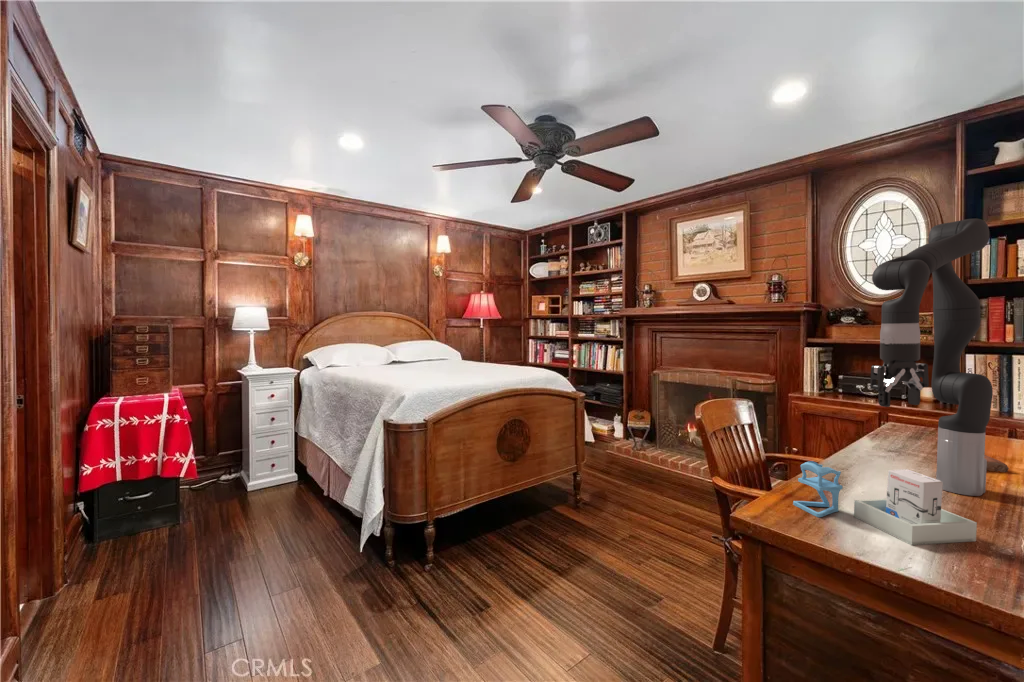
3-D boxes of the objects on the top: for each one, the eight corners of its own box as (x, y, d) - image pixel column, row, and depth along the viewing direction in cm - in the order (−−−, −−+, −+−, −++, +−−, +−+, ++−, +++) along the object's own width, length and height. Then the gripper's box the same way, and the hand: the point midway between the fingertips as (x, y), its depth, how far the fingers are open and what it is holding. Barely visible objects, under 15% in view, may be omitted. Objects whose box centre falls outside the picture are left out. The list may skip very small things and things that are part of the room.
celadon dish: (911, 513, 107) (911, 497, 107) (976, 541, 93) (976, 522, 93) (853, 516, 105) (854, 500, 105) (911, 545, 91) (912, 526, 91)
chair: (847, 515, 106) (849, 466, 105) (818, 517, 104) (819, 468, 104) (820, 502, 113) (821, 457, 113) (792, 504, 112) (793, 458, 112)
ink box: (884, 517, 103) (885, 468, 103) (902, 516, 104) (904, 468, 103) (921, 534, 95) (923, 481, 94) (941, 533, 95) (944, 481, 95)
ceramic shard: (920, 443, 152) (963, 449, 152) (919, 462, 151) (962, 468, 151) (964, 449, 137) (1011, 457, 137) (963, 470, 137) (1010, 477, 136)
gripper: (908, 339, 113) (907, 401, 114) (860, 341, 111) (860, 404, 112) (940, 340, 106) (939, 406, 106) (890, 343, 104) (889, 410, 104)
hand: (899, 405), depth 109 cm, fingers open, 8 cm apart
